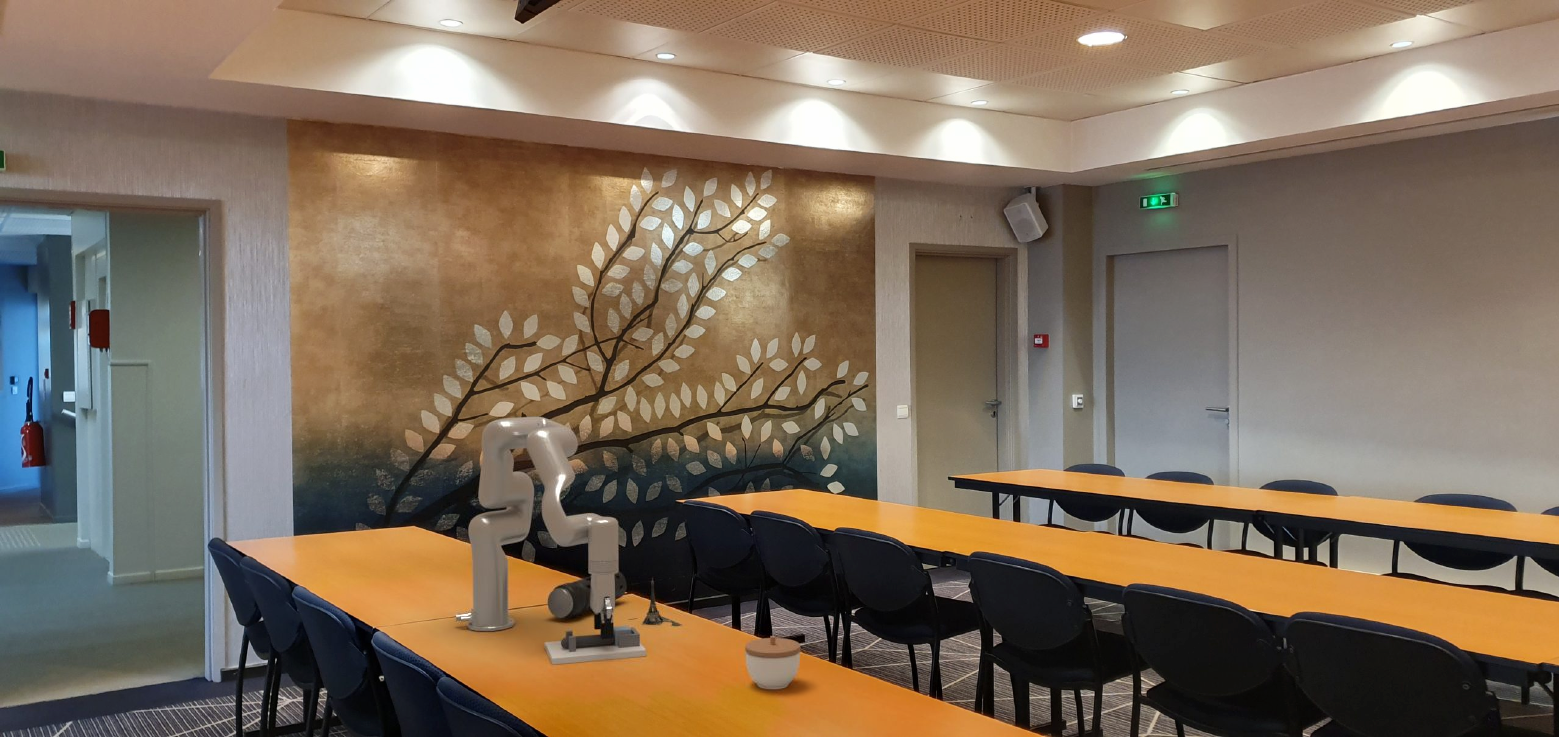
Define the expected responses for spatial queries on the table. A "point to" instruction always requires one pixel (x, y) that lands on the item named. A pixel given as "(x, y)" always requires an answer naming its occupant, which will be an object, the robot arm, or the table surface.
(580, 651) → the cable board
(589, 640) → the cable
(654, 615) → the eiffel tower figurine
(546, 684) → the table surface
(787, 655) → the lidded bowl
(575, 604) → the muzzle brake
